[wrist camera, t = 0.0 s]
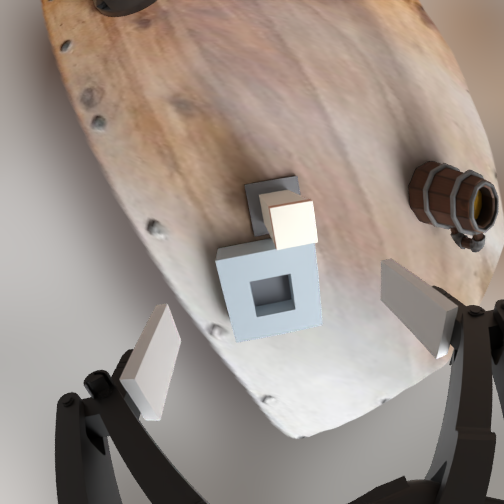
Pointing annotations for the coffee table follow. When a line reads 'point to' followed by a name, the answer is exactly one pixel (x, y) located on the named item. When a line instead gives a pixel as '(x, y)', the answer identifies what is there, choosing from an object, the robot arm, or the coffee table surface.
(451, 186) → the mug
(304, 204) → the peg
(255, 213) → the mat
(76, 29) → the coffee table surface
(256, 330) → the socket block
